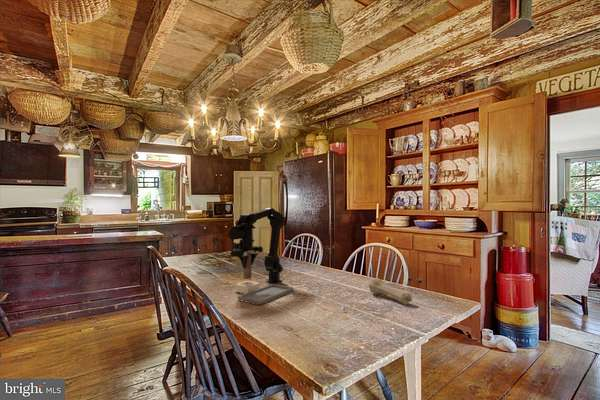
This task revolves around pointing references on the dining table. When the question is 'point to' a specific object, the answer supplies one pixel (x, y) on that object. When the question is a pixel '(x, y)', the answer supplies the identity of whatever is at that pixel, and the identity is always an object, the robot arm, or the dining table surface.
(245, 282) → the square frame
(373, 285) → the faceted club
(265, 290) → the tray
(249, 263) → the pin
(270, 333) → the dining table surface
